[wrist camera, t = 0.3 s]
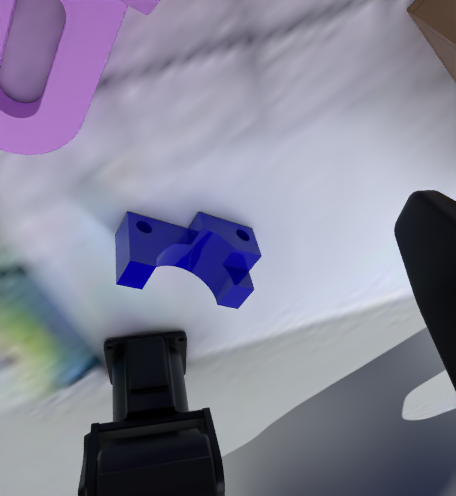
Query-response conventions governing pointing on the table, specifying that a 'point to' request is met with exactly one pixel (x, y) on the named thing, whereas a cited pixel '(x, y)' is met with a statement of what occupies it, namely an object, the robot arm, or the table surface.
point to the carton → (438, 28)
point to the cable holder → (189, 253)
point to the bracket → (63, 75)
